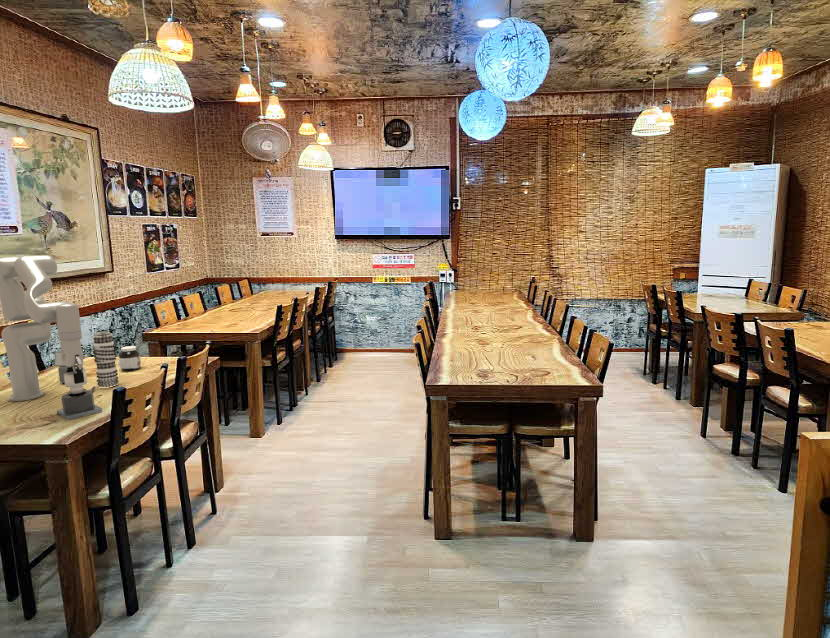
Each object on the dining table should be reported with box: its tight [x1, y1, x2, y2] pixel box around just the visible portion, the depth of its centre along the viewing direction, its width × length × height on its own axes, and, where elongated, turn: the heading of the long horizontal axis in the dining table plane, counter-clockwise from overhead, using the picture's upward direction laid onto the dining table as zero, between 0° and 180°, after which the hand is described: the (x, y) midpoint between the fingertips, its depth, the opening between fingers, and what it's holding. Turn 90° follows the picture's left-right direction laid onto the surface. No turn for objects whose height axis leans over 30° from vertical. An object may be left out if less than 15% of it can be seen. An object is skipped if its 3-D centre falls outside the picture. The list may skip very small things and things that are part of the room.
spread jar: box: [117, 345, 142, 372], centre depth 282 cm, size 12×11×12 cm
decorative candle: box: [92, 330, 120, 388], centre depth 250 cm, size 9×9×25 cm
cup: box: [64, 370, 88, 394], centre depth 213 cm, size 7×7×8 cm
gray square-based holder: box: [56, 389, 103, 421], centre depth 214 cm, size 12×12×8 cm
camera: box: [53, 351, 86, 384], centre depth 261 cm, size 9×12×15 cm
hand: (75, 380), depth 213 cm, fingers closed on cup, 7 cm apart
